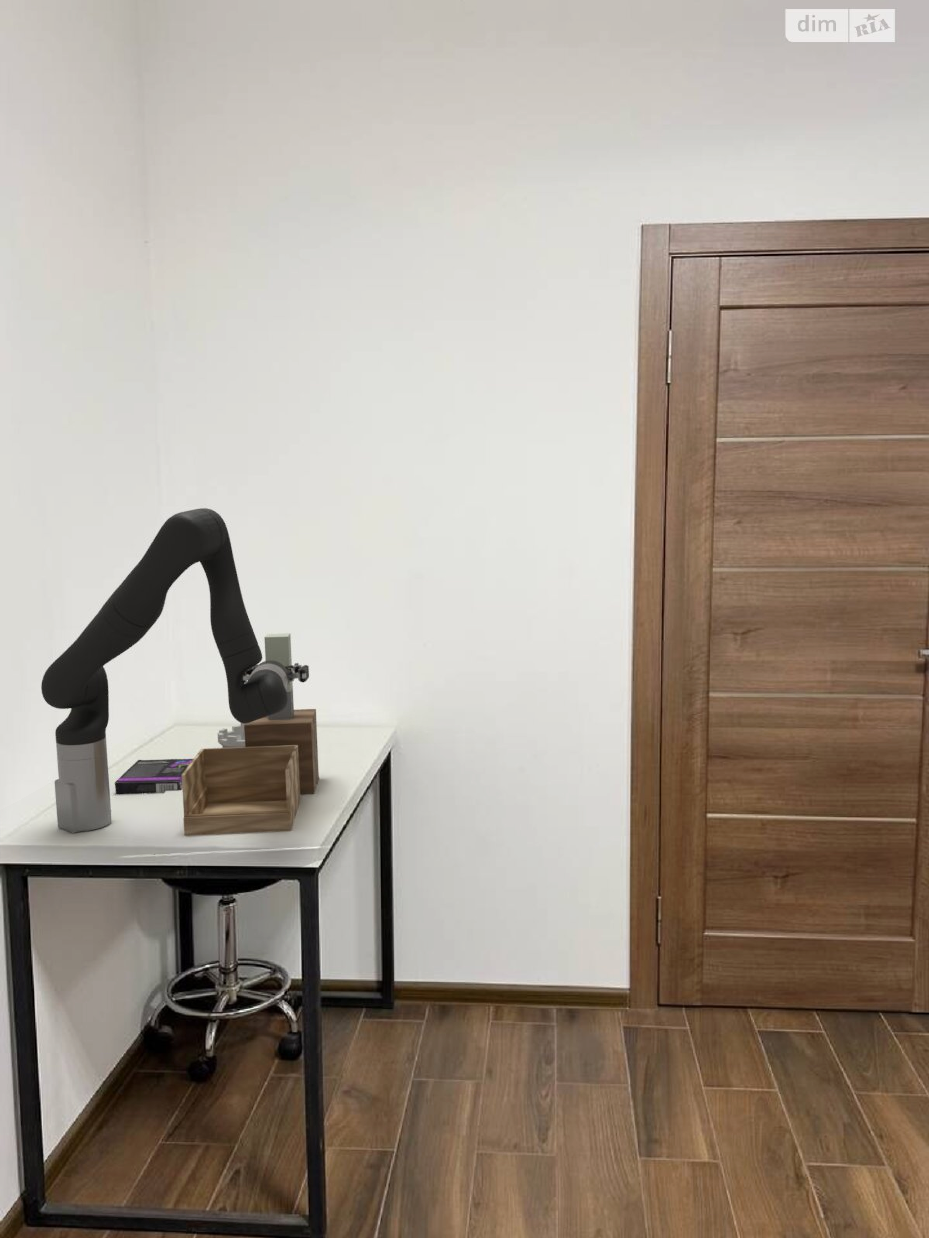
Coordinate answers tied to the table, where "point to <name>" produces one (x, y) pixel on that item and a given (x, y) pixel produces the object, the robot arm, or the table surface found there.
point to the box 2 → (281, 652)
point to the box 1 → (152, 776)
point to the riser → (290, 742)
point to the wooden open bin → (241, 790)
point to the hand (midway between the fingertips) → (276, 668)
